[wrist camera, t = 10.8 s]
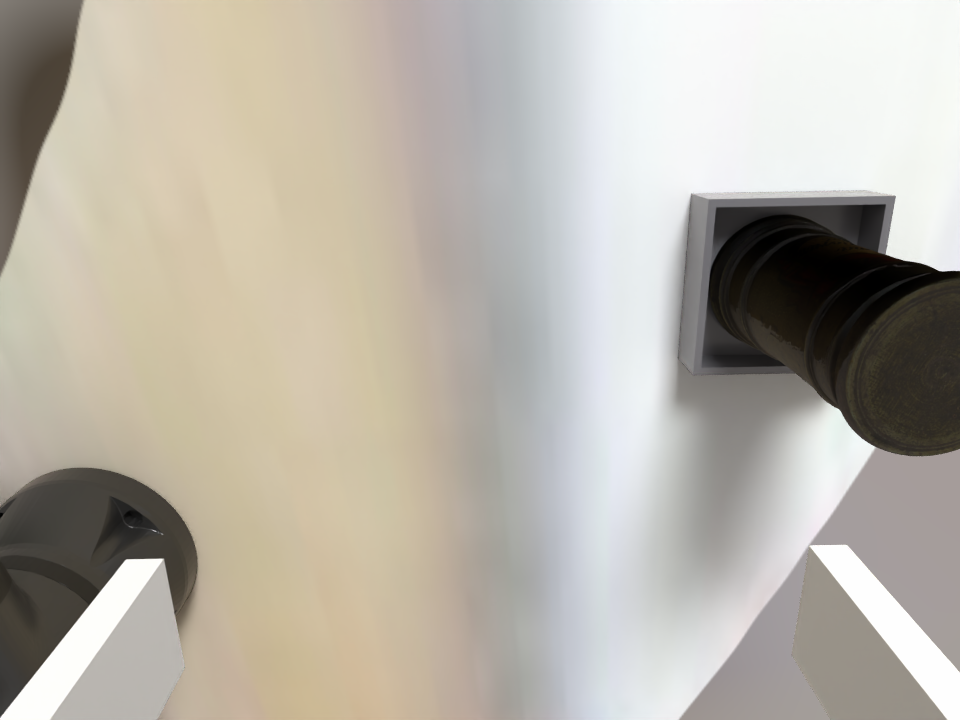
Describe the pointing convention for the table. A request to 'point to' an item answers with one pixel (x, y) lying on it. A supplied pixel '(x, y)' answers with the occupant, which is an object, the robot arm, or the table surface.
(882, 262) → the container
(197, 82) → the table surface
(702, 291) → the tray
